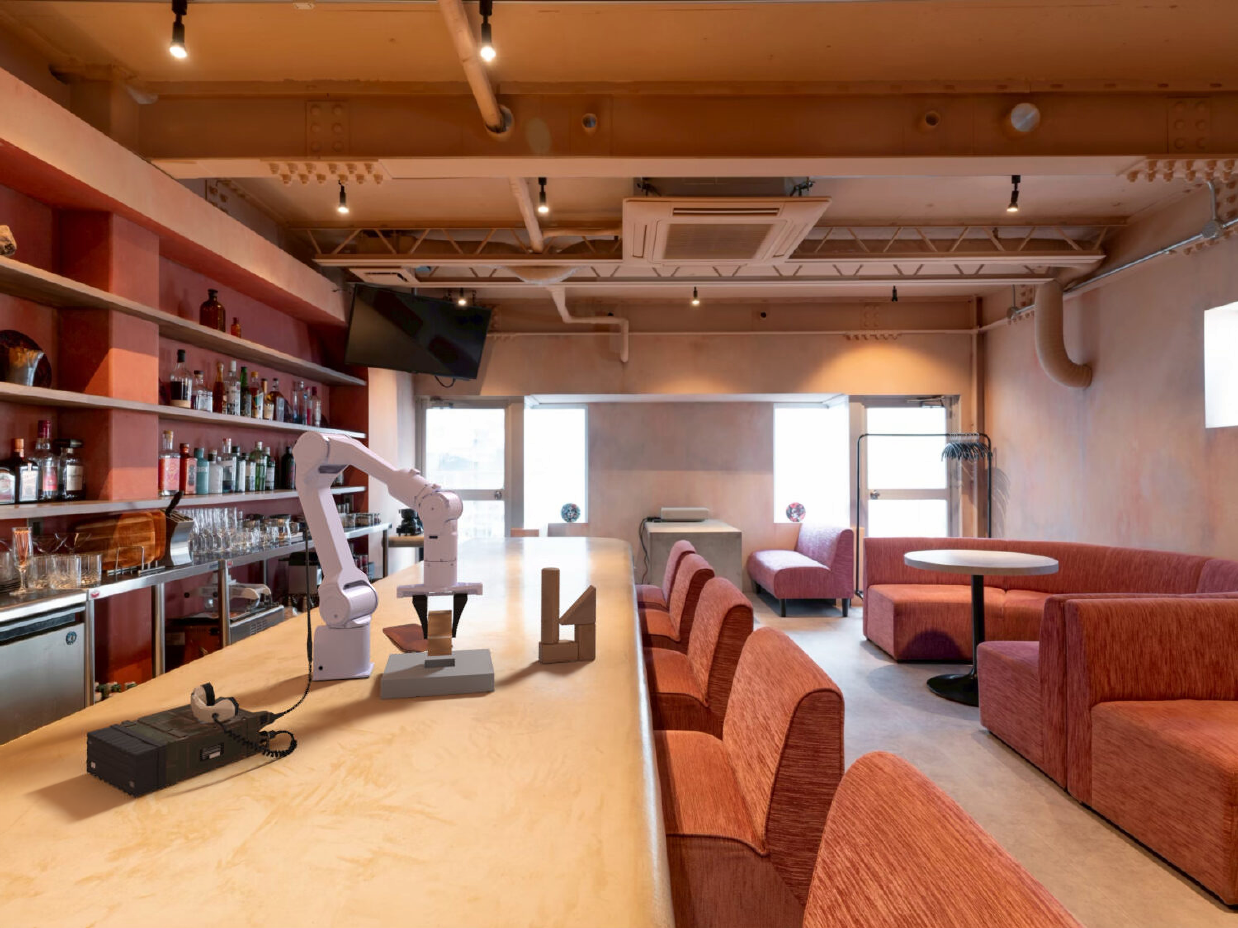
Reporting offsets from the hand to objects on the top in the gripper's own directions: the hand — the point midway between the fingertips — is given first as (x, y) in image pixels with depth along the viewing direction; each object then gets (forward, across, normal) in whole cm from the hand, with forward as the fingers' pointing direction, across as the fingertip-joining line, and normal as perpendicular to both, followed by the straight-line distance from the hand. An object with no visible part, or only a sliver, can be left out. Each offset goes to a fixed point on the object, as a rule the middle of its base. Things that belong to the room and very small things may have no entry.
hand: (439, 637), depth 118 cm
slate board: (+8, 0, 0) cm, 8 cm away
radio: (+8, -27, -26) cm, 38 cm away
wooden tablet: (+8, -6, +33) cm, 34 cm away
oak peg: (+3, 0, 0) cm, 3 cm away
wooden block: (+8, +24, +8) cm, 26 cm away
